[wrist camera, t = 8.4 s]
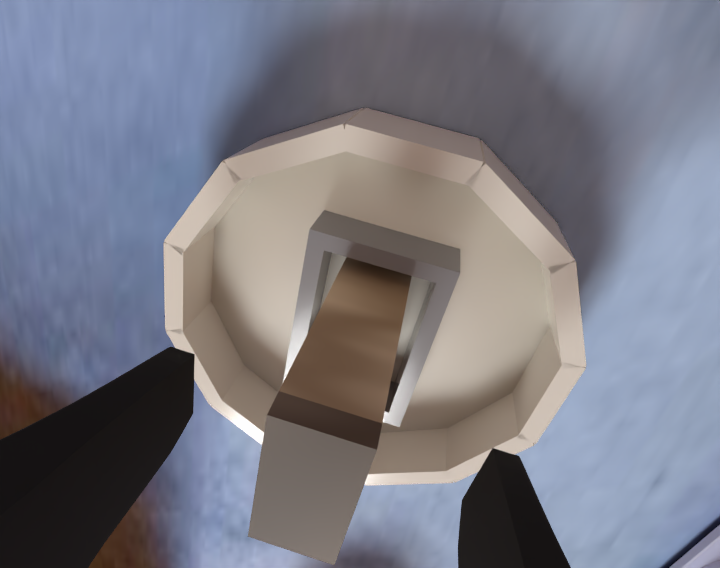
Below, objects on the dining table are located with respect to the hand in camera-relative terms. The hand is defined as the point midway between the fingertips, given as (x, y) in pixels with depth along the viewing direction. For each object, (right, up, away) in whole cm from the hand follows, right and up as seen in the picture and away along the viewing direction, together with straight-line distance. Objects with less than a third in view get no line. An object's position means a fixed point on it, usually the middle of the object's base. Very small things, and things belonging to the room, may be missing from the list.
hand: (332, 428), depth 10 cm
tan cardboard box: (+1, +3, +4) cm, 5 cm away
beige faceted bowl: (+1, +3, +5) cm, 6 cm away
